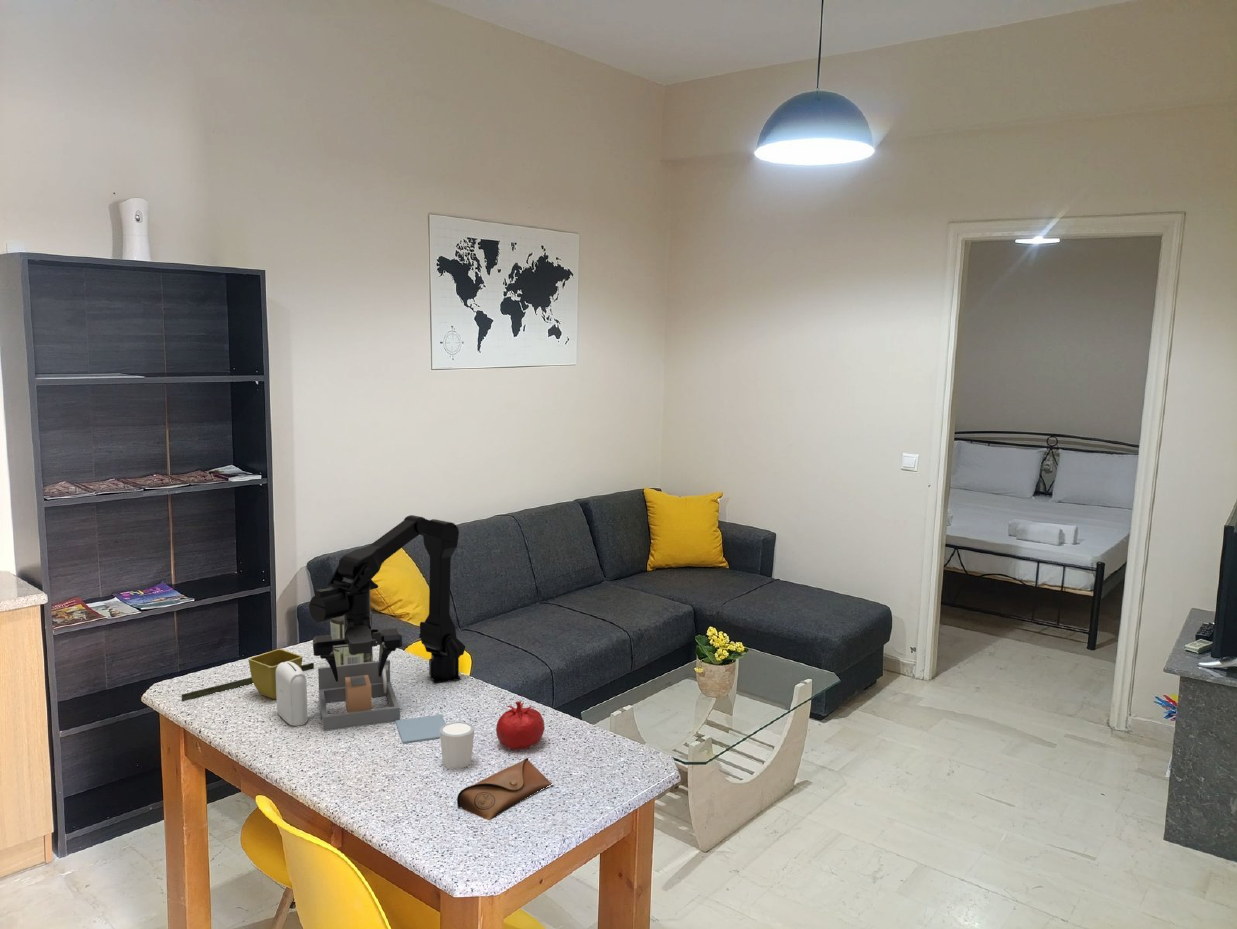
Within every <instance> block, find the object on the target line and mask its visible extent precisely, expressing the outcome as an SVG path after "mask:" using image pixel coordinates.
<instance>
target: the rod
mask: <svg viewBox="0 0 1237 929" xmlns="http://www.w3.org/2000/svg"><path fill="white" fill-rule="evenodd" d="M314 668H315V664H314V662H310V663H306V664H302V666H301V670H302V671H303V672H306V671H310V670H314ZM252 683H253V681H252V677H251V676H250V677H247V678H243V679H239V680H235V681H231V682H226V683H223V684H219V685H214V686H211V687H207V688H201V689H198V690H195V691H191V692H186V693H182V694H181V701H182V702H185V701H189V700H193V699H199V698H203V697H205V696H210V694H211V695H214V694H213V693H215V692H219V693H221V692H223V693H224V692H225V690H227V691H230V690H229V689H231V690H234V688H235V689H238V687H239V688H241V687H240V686H243V687H245V686H244V685H247V686H249V684H251V685H253V684H252ZM215 694H216V693H215ZM202 696H203V697H202Z"/></svg>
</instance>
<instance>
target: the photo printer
mask: <svg viewBox="0 0 1237 929" xmlns="http://www.w3.org/2000/svg"><path fill="white" fill-rule="evenodd" d="M304 672H305V671H302V670H301V668H300V667H299V666H298V665H296V664H295V663H293V662H289V661H286V662H282V663H280V664H279V665H278V666H277V668H276V710H277V714H278V715H279V717H281V718H282V719H283V720H284V721H285V722H286V723H287V724H288V725H290V726H293V727H296V726H302V725H304V724H306V723H307V722H308V718H309V717H308V714H309V713H308V712H309V711H308V689H307V685H308V684H307V676H306V673H304Z"/></svg>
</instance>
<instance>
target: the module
mask: <svg viewBox="0 0 1237 929" xmlns="http://www.w3.org/2000/svg"><path fill="white" fill-rule="evenodd" d="M345 694H346V701H345V710H346V713H348V712H355V711H363V710H371V709H373V707H372V705H373V704H372V703H373V701H372V700H373V699H372V698H373V697H372V695H371V683H370V680H369V677H368V675H363V676H354V677H346V678H345Z"/></svg>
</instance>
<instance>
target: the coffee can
mask: <svg viewBox="0 0 1237 929" xmlns="http://www.w3.org/2000/svg"><path fill="white" fill-rule="evenodd" d="M370 616H371V628H372V629H373V619H372V617H373V611H371V610H370ZM329 621H330V622H329V623H330V635H331V636H332V640H333V639H343V638H344V616H341V617H338V618H334V619H330V620H329ZM333 651H334V656H335V662H336V666H337V665H346V664H355V663H365V662H374V661H373V660H374V658H373V656H374V655H373V651H372V652H371V653H368V654H365V653H361V654H356V655H351V654H349V648H348V647H341V648H333Z"/></svg>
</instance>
